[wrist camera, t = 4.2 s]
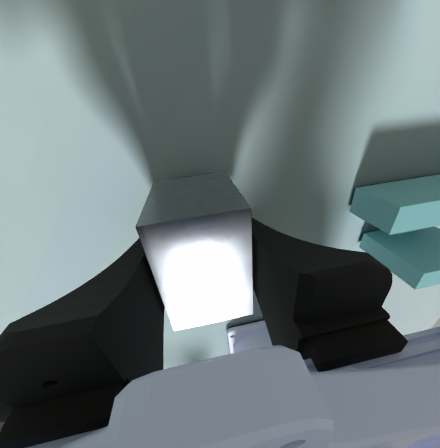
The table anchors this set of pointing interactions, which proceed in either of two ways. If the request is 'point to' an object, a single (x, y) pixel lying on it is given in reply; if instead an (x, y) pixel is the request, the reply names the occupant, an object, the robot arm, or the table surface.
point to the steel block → (199, 248)
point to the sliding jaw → (403, 227)
